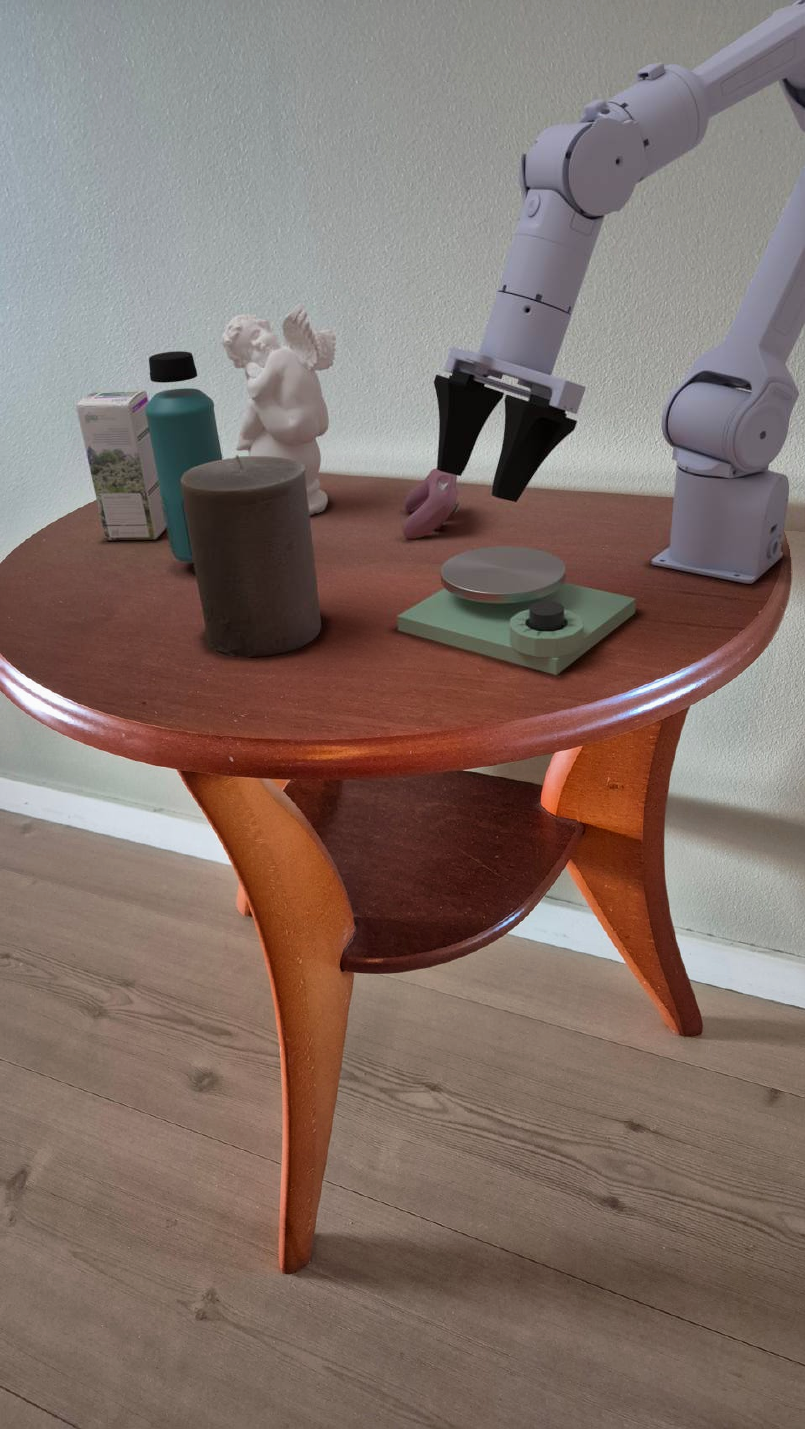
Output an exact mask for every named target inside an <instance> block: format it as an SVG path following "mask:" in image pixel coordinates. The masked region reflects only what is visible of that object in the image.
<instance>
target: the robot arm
mask: <svg viewBox="0 0 805 1429" xmlns="http://www.w3.org/2000/svg"><path fill="white" fill-rule="evenodd" d="M636 76H637V82H636V83H635V84H633V85H631V86H630V87H628V88H626V89H624V90H622V91H621V92H619V93H618V94H616V95H615V96H613V97H611V98H609V99H608V100H605V99H603V98H600V99H594V100H592V101H591V102H589V103H587V104H585V105H584V114H583V116H582V117H581V118H580V120H579V122H575V123H574V122H573V123H559V124H554V125H551V126H549V127H547V128H546V129H544V130H543V131H541V133H540V134H539V135H538V136H537V137H536V139H534V142H535V143H534V144H533V146H530V149H529V150H528V151H529V152H526V153H521V155H520V158H519V165H518V182H519V188H520V191H521V196H522V197H521V198H522V199H521V200H522V201H521V205H520V210H519V212H518V216H517V220H518V224H517V227H516V229H515V233H514V236H513V239H512V241H511V242H512V243H511V246H510V249H509V253H508V256H507V258H506V261H505V265H504V269H503V272H502V274H501V278H500V282H499V285H498V288H497V292H496V295H495V298H494V301H493V305H492V308H491V311H490V314H489V317H488V320H487V324H486V327H485V330H484V334H483V337H482V340H481V343H480V346H479V349H478V351H477V352H476V351H473V350H470V349H467V350H465V349H462V348H458V347H456V346H450V349H449V353H448V356H447V360H446V363H445V366H444V369H443V371H444V372H447V373H450V374H449V376H448V377H445V376H443V375H440V374H435V377H434V381H433V385H434V389H435V394H436V400H437V407H438V423H439V425H438V427H439V429H438V447H437V462H436V468H437V470H439V471H442V472H446V473H450V474H454V475H457V477H462V474H463V473H464V472H465V469H466V468H467V467H468V466H467V465H468V464H469V461H470V458H471V456H472V454H473V451H474V449H475V446H476V443H477V441H478V438H479V436H480V433H481V431H482V430H483V428H484V426H485V424H486V422H487V420H488V419H489V417H490V416H491V414H492V413H493V411H494V409H495V408H496V407H497V406H498V404H499V403H500V401H501V400H502V399H503V397H505V398H504V430H503V439H502V444H501V449H500V450H501V451H500V454H499V458H498V462H497V466H496V469H495V473H494V477H493V480H492V481H493V482H492V488H491V496H492V497H495V498H497V499H501V500H505V501H509V502H513V503H518V501H519V499H520V497H521V496H522V494H523V493H524V491H525V489H526V488H527V487H528V485H529V483H530V482H531V480H532V479H533V477H534V475H535V474H536V472H537V471H538V469H539V468H540V467H541V466H542V464H543V463H544V462H545V460H546V459H547V458H548V456H549V455H550V454H551V453H552V452H553V451H554V450H555V449H556V447H557V446H558V445H559V444H560V443H561V442H562V441H563V440H564V439H566V437H568V436H569V435H570V434H571V433H572V432H574V431H575V429H576V427H577V423H578V421H577V420H576V419H573V418H570V417H567V416H568V414H567V413H571V414H575V415H577V414H578V411H579V409H580V405H581V402H582V400H583V397H584V394H585V391H586V388H587V387H586V386H584V385H582V384H579V383H576V382H573V381H570V380H568V379H563V378H561V377H557V376H554V375H552V374H553V371H554V368H555V367H556V366H555V365H556V363H557V360H558V358H559V354H560V351H561V349H562V348H561V347H562V344H563V342H564V339H565V336H566V333H567V330H568V327H569V324H570V321H571V318H572V315H573V312H574V310H575V306H576V303H577V300H578V297H579V294H580V291H581V288H582V285H583V282H584V279H585V276H586V274H587V271H588V268H589V264H590V261H591V258H592V255H593V252H594V250H595V246H596V244H597V241H598V238H599V235H600V231H601V229H602V226H603V223H604V220H605V217H606V215H609V214H612V213H613V212H620V211H621V210H622V209H623V208H624V207H625V206H626V205H627V203H628V202H629V200H630V198H631V196H632V195H633V192H634V190H635V187H636V185H637V184H639V183H640V182H641V181H643V180H646V179H647V178H649V177H650V176H652V175H654V174H655V173H657V172H658V171H660V170H661V169H663V168H664V167H666V166H668V165H669V164H671V163H673V162H674V161H676V160H677V159H679V158H680V157H682V156H684V155H686V154H687V153H688V152H690V151H693V150H694V149H695V148H697V147H698V146H699V145H700V144H701V142H702V141H703V139H704V138H705V136H706V132H707V129H708V126H709V122H710V118H712V117H714V116H717V115H718V114H720V113H722V112H723V111H726V110H727V109H729V108H730V107H731V108H732V107H733V106H735V105H736V104H739V103H740V102H742V101H744V100H745V99H747V98H749V97H751V96H753V95H755V94H757V93H758V92H760V91H763V90H764V89H766V88H767V87H770V86H771V85H773V84H775V83H777V82H778V84H779V87H780V88H781V90H782V93H783V94H784V97H785V99H786V100H787V103H788V105H789V107H790V109H791V111H792V113H793V116H794V117H795V119H796V122H797V123H798V126H799V128H800V130H801V131H802V132H803V133H805V0H796V1H795V2H794V3H793V4H791V5H788V6H785V7H781V8H779V9H777V10H774V11H773V12H772V15H770V16H769V17H768V18H766V19H765V20H764V21H762V22H761V23H759V24H758V25H756V26H755V27H753V28H752V29H750V30H749V31H747V32H746V33H744V35H742V36H741V37H739V38H737V39H736V40H734V41H733V42H732V43H730V44H728V45H727V46H726V47H724V48H723V49H721V50H720V51H718V52H717V53H716V54H714V55H713V56H711V57H709V58H708V59H706V60H705V61H704V62H702V63H700V64H699V65H698V66H696V67H695V68H693V69H692V70H690V69H688V68H686V67H684V66H682V65H680V64H674V63H673V64H666V65H665V64H664V63H663V62H656V63H648V64H647V65H646V66H644V67H643V68H641V69H639V70H637V72H636ZM753 274H754V275H753V276H752V279H751V281H750V283H749V285H748V287H747V290H746V292H745V293H744V296H743V298H742V301H741V303H740V305H739V307H738V308H737V312H736V314H735V315H734V318H733V320H732V322H731V325H730V327H729V329H728V331H727V333H726V335H725V338H724V339H723V341H721V342H720V343H718V344H717V345H716V346H714V347H712V348H711V349H709V350H708V351H706V352H704V353H703V354H701V355H700V356H697V358H695V359H694V360H693V362H692V364H691V366H690V369H689V370H688V372H687V374H686V376H685V377H684V378H683V380H682V381H681V383H679V384H678V385H677V386H676V387H675V388H674V389H673V391H672V392H671V393H670V394H669V396H668V398H667V400H666V402H665V404H664V406H663V410H662V415H661V422H660V423H661V424H660V425H661V432H662V435H663V437H664V440H665V441H666V443H667V444H668V445H669V446H670V447H671V448H672V460H673V461H675V462H676V468H675V479H674V490H673V491H674V492H673V502H672V515H671V526H670V539H669V546H668V547H667V548H665V549H664V550H663V551H660V553H659V554H657V555H656V556H654V557H653V558H652V559H651V564H652V565H653V566H656V567H662V568H666V569H671V570H675V571H682V572H687V573H691V574H696V575H700V576H705V577H711V578H715V579H720V580H726V581H730V582H731V581H732V582H737V583H741V584H745V585H746V584H747V585H751V584H753V583H755V582H756V581H757V580H758V579H759V578H760V577H761V576H763V575H764V574H765V573H766V572H767V571H768V570H769V569H771V567H773V566H774V565H775V564H776V563H777V562H778V561H779V560H780V559H781V558H782V557H783V554H784V552H783V551H782V544H783V539H784V532H785V525H786V517H787V510H788V503H789V497H790V481H789V478H788V475H786V474H784V473H781V472H775V471H773V470H770V469H769V466H770V464H771V463H772V462H773V461H774V460H775V459H776V458H777V456H778V455H779V454H780V452H781V451H782V449H783V447H784V445H785V443H786V440H787V437H788V433H789V429H790V428H789V427H790V420H791V417H792V413H793V410H794V408H795V404H796V403H797V401H798V399H799V396H800V392H799V388H798V387H797V384H796V383H795V381H794V378H793V376H792V375H791V373H790V370H789V369H788V367H787V364H786V363H787V362H788V359H789V358H790V355H791V353H792V351H793V349H794V348H795V345H796V342H797V341H798V339H799V336H800V334H801V332H802V331H803V328H804V327H805V164H804V165H803V168H802V170H801V172H800V174H799V176H798V178H797V181H796V183H795V185H794V187H793V190H792V191H791V194H790V196H789V198H788V201H787V202H786V205H785V206H784V209H783V211H782V213H781V216H780V218H779V220H778V222H777V224H776V226H775V228H774V231H773V233H772V235H771V237H770V239H769V242H768V244H767V246H766V249H765V250H764V253H763V255H762V257H761V259H760V262H759V264H758V265H757V268H756V270H755V271H754V273H753ZM503 376H507V377H510V378H512V379H516V380H517V382H516V383H517V385H518V386H522V387H525V388H528V389H529V390H527V389H524V388H521V387H517V386H516V385H511V384H509V383H506V382H503V381H499V380H502V379H503ZM489 377H493V378H496V379H499V380H495V379H493V378H489ZM486 385H487V386H486ZM488 386H490V387H491V388H490V387H488ZM492 387H493V388H492ZM494 388H495V389H494ZM496 388H497V389H499V390H497V389H496ZM500 390H502V391H500ZM503 391H506V392H509V393H511V394H514V395H518V396H521V397H524V398H527V399H528V400H526V399H523V398H519V397H516V396H513V395H511V394H506V395H505V393H504V392H503ZM504 395H505V396H504ZM566 412H567V413H566Z"/></svg>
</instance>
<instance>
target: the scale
mask: <svg viewBox="0 0 805 1429" xmlns="http://www.w3.org/2000/svg"><path fill="white" fill-rule="evenodd" d="M542 601H551V602H557V603H559V604H561V605H563V606H564V627H563V629H561V630H557V631H553V632H542V631H536V630H532V629H530V627H529V608H530V606H531V605H532V604H534V603H537V602H542ZM636 606H637V598H636V597H631V596H627V595H623V594H619V593H615V592H614V593H613V592H610V591H605V590H601V589H595V588H591V587H587V586H583V585H579V584H574V583H569V582H566V581H565V582H564V584H563V585H562V587H561V588H559V589H558V590H557V591H555V592H554V593H552V594H549V595H547V596H544V597H542V598H538V599H534V600H530V601H524V602H516V603H485V602H477V601H472V600H467V599H464V598H461V597H458V596H456V595H454V594H452V593H450V592H448V591H447V590H446V589H445V588H444V587H443V588H442V589H440V590H438V591H436V593H434V594H431V595H430V596H429V597H426V598H425V599H423V600H422V601H420V602H418V603H417V604H415V605H413V606H411V607H409V608H408V609H406V610H404V611H403V612H401V613H399V614H398V615H397V616H396V618H397V620H396V621H397V630H398V631H399V632H403V633H407V634H409V635H414V636H417V637H420V638H423V639H427V640H431V641H434V642H438V643H441V644H445V645H447V646H451V647H452V646H453V647H456V648H459V649H463V650H466V651H469V652H473V653H476V654H479V655H483V656H488V657H490V658H495V659H497V660H501V661H504V662H505V661H506V662H508V663H512V664H516V665H520V666H522V667H526V668H530V669H533V670H535V671H536V670H537V671H539V672H544V673H547V674H551V675H555V676H557V675H559V674H560V673H562V671H564V670H565V669H566V668H568V667H569V666H570V665H571V664H572V663H574V662H575V661H576V660H577V659H578V658H580V657H581V656H582V655H584V654H586V653H587V651H589V650H590V649H591V648H592V647H594V646H595V645H596V644H598V643H599V642H600V641H602V640H603V639H604V638H606V637H607V636H608V635H609V634H610V633H612V632H613V631H614V630H616V629H617V628H619V626H620V625H622V624H623V623H624V622H626V621H627V620H628V619H630V618H631V617H632V616H633V615H634V614H636Z"/></svg>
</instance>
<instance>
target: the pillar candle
mask: <svg viewBox="0 0 805 1429" xmlns="http://www.w3.org/2000/svg"><path fill="white" fill-rule="evenodd" d="M305 468H306V467H305V465H303V464H300V463H298V462H297V461H296V460H291V459H288V458H282V457H271V456H249V455H240V456H239V454H235V457H231V458H229V457H228V458H222V460H217V461H213V462H209V463H206V464H202V465H199V466H196V467H193V468H191V469H190V470H188V471H187V472H185V473H184V474H183V476H182V477H181V487H182V493H183V500H184V508H185V514H186V519H187V526H188V532H189V537H190V543H191V549H192V554H193V562H194V563H193V567H194V568H193V569H194V573H195V574H194V575H195V579H196V584H197V588H198V594H199V599H200V601H199V602H200V603H201V605H200V606H201V611H202V615H203V616H202V617H203V621H204V626H205V627H204V628H205V631H206V640H207V643H208V645H209V647H211V648H212V649H213V650H214V651H217V652H220V653H222V654H224V655H228V656H230V657H241V658H259V657H270V656H274V655H275V656H276V655H280V654H281V655H282V654H285V653H289V652H292V651H295V650H297V649H300V648H302V647H304V646H306V645H307V644H308V643H311V642H312V641H313V640H315V639H316V638H317V637H318V635H319V634H320V633H321V630H322V619H321V612H320V610H321V609H320V601H319V600H320V599H319V590H318V579H317V572H316V571H317V570H316V564H315V554H314V545H313V535H312V534H313V533H312V527H311V515H309V506H308V499H307V490H306V481H305V471H306V469H305Z"/></svg>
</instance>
